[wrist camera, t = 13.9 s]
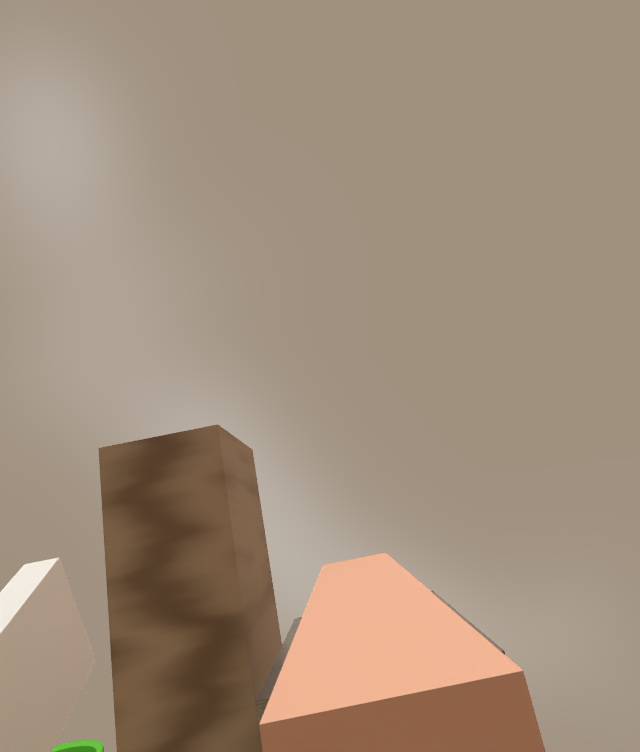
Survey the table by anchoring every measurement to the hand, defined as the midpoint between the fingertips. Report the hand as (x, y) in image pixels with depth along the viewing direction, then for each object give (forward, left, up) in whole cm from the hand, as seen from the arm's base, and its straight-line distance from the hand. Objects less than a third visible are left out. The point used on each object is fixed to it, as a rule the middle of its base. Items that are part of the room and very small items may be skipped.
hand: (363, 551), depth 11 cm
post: (-10, +21, -25) cm, 34 cm away
